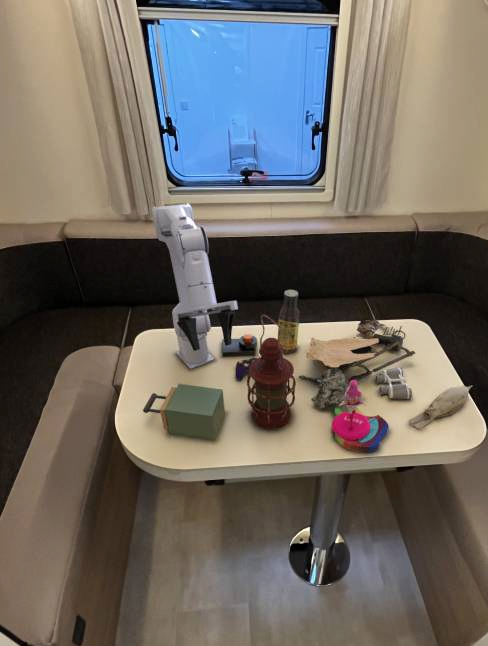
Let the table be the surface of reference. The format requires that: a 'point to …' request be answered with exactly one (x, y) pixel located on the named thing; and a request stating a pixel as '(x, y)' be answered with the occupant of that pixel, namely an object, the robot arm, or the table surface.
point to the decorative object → (371, 439)
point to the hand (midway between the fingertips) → (212, 347)
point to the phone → (357, 351)
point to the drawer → (162, 409)
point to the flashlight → (389, 339)
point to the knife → (309, 378)
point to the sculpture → (442, 405)
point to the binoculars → (394, 390)
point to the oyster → (368, 327)
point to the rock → (331, 388)
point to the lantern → (271, 384)
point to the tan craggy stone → (339, 350)
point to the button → (247, 338)
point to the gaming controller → (242, 367)
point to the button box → (239, 347)
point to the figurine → (351, 416)
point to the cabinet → (195, 411)
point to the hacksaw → (368, 372)
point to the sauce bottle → (289, 321)
